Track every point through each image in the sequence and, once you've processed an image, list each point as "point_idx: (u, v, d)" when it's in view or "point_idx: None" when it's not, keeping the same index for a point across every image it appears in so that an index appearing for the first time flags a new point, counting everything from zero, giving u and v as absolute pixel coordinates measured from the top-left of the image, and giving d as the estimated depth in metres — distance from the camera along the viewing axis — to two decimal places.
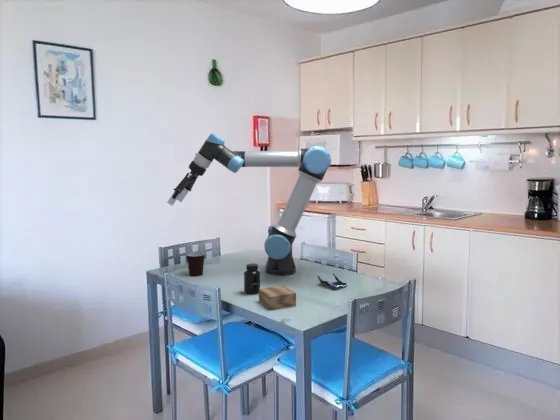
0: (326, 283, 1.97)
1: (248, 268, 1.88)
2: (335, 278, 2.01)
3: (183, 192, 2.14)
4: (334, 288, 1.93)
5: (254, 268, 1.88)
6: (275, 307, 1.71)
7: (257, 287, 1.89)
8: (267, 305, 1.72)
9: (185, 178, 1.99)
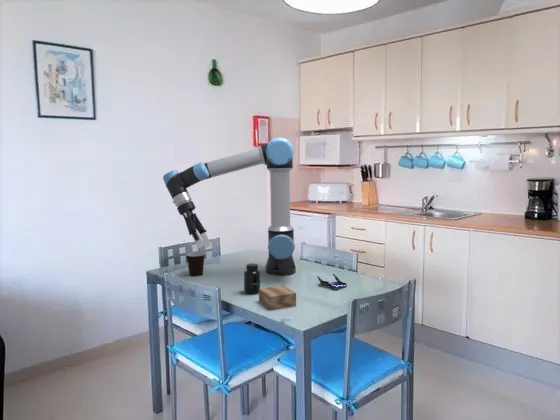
0: (326, 283, 1.97)
1: (248, 268, 1.88)
2: (335, 278, 2.01)
3: (203, 237, 2.07)
4: (335, 288, 1.93)
5: (254, 268, 1.88)
6: (275, 307, 1.71)
7: (257, 287, 1.89)
8: (267, 305, 1.72)
9: (186, 218, 1.94)
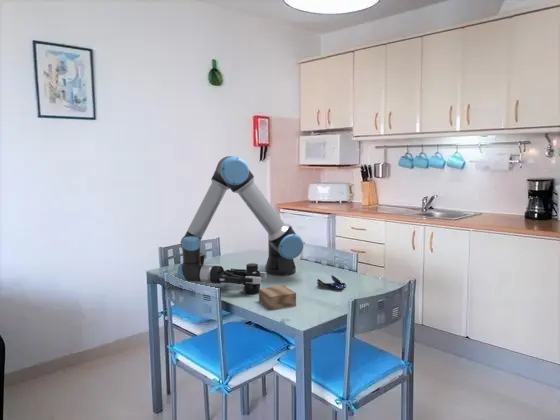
0: (328, 285, 1.95)
1: (248, 268, 1.88)
2: (333, 279, 1.99)
3: None
4: (339, 289, 1.92)
5: (254, 268, 1.88)
6: (275, 307, 1.71)
7: (257, 287, 1.89)
8: (267, 305, 1.72)
9: (226, 281, 1.87)
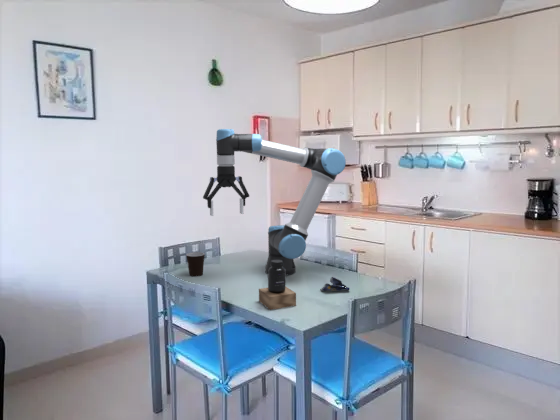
0: (336, 288, 1.90)
1: (273, 264, 1.74)
2: (332, 281, 1.96)
3: (240, 203, 1.99)
4: None
5: (279, 265, 1.73)
6: (275, 307, 1.71)
7: (282, 286, 1.74)
8: (267, 305, 1.72)
9: (209, 183, 1.93)
